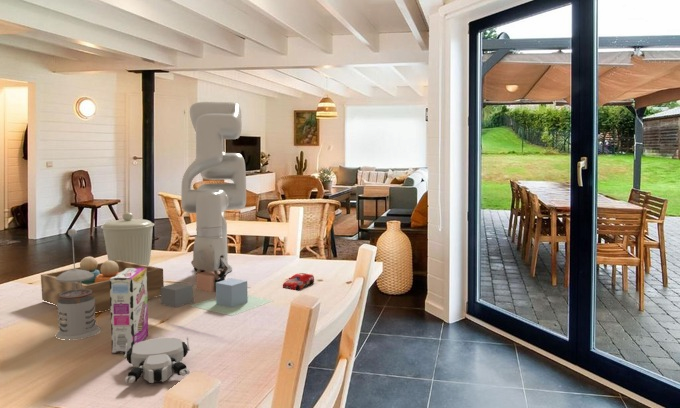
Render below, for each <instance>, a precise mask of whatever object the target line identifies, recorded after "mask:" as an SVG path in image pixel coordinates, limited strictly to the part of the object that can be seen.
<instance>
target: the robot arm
mask: <svg viewBox="0 0 680 408" xmlns="http://www.w3.org/2000/svg"><path fill="white" fill-rule="evenodd" d="M189 116H190V120H191V121H190V122H191V124H192V127H193V129H194V131H195V159H194V160H193V162H191V163H190V164H189V165H188V167H187V168H186V169H185V171H184V173H183V175H182V178H181V179H182V181H181V190H180V191H181V192H180V193H181V197H180V198H181V201H180V202H181V207H182V210H183V211H184V212H185V213H187V214H195V217H196V218H195V223H196V224H195V225H196V228H195V229H196V230H195V231H196V236H194V242H193V243H194V244H193V251H192V254H193V255H192V256H193V257H192V260H191V262H190V263H191V266H192V267H193V270H194V271H195V275H196V274H197V273H201V272H205V271H214V273H215V276H216V280H215V291H214V292H216V282H220V281H223V280H224V278H225V279H226V276H227V275H228V274H229V273H230V272H232V271H233V266H232V265H231V264H229V263H228V261H229V260H228V255H229V254H228V225H227V220H226V218H225V217H224V216H223V214H222V213H223V212H225V211H233V210H234V211H236V210H242V209H244V208H245V207H246V204H247V175H246V174H247V173H246V171H247V170H246V161H245V159H244V157H243V155H242V154H241V153H237V152H225V149H224V140H236V139H237V140H238V139H239V138H240V136H241V134H242V123H243V122H242V109H241V107H240V105H239V104H238V103H237V102H231V101H230V102H226V101H200V102H194V103H192V104H191V105H190V107H189ZM199 174H200V176H201V177H202V178H203V179H205V180H212V181H213V180H215V181H216V180H224V181H226V180H230V181H232V182H230V183H229V182H228V183H227V182H226V183H225V182H216V183H215V182H213V183H212V182H211V183H209V182H208V183H203V184H201V185H199V186H198V187H197V188H196V189H191V187H192V182H193V179H194V178H195V177H196V176H198V175H199ZM218 271H220V274H219V272H218Z"/></svg>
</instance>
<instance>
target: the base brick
mask: <svg viewBox="0 0 680 408" xmlns="http://www.w3.org/2000/svg"><path fill="white" fill-rule="evenodd" d="M248 296H249V295H248V281H247V280H245V279H238V278H226V279H225V280H223V281H220V282H216V291H215V298H216V304H218V305H222V306H227V307H231V308H232V307H235V306H238V305H241V304H244V303H247V302H248Z"/></svg>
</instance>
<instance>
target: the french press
mask: <svg viewBox="0 0 680 408" xmlns="http://www.w3.org/2000/svg"><path fill="white" fill-rule="evenodd" d="M77 234H78V231H77V229H75V228H70V229H69V230H68V231H67V235H71V240H72V241H71V242H72V258H73V259H72V261H73V262H72V263H73V268H74V269H73V268H71V269H72V270H68V269H67V270H68V271H66V272H63V273H62V274H60V275H59V276H58V277H56V280H57V281H59V282H72V283H73V289H74V290H71V291H70V290H69V291H67V292H66V291H65V292H63V293H61V294H59V297H60V298H62V299H60V300H58V301H57V306H56V308H57V316H58V317H57V318H58V320H57V321H58V331H57V333H56V334H55V335H56V337H57V338H60V339H65V340H64V341H74V340H73V339H78V340H82V339H81V338H83V339H87V338H86V337H88V338H90V336H91V337H93V335H94V336H96V335H97V334H99V333H100V332H101V330H100V329H101V328H100V327H99V326H98V325H97V320H96V318H97V317H96V314H95V312H94V311H95V297H94V296H91V294H92V292H93V291H92V290H89V289H87V290H85V289H82V282H81V281H84V280H88V279H91V278H93V277H94V274H93V273H91V272H89V271H86V270H80V269H75V268H76V266H75V265H76V263H75V247H74V246H75V244H74V235H77ZM79 281H80V282H79ZM74 282H75V283H74ZM76 282H79V283H76ZM80 283H81V290H80V289H79V290H77V289H76V284H80ZM74 285H75V286H74ZM76 298H79V303H77V304H76ZM93 307H94V308H93ZM91 311H92V312H91ZM93 312H94V313H93ZM63 320H64V321H63ZM95 334H96V335H95ZM69 339H70V340H69Z"/></svg>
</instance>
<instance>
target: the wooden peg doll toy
mask: <svg viewBox="0 0 680 408" xmlns="http://www.w3.org/2000/svg"><path fill="white" fill-rule="evenodd" d="M102 263H103V264H102V265H101V268H100V270H101V273H102V274H100V272H99V270H96V268H97V266H98V264H99V262H98V260H97V259H96V258H95V257H93V256H86V257H84V258H82V259H81V260H80V262H79V267H80V268H81V269H82V270H86V271H89V272H91V273H93V274H94V277H93V278H91V279H88V280H84V281H81V282H82V283H83V284H87V285H89V284H93V283H97V282H102V281H106V280H109V279H110V278H112V277H113V276H115V275H117V274H118V273H120V272H118V270H119V267H118V264H117V263H116V262H114V261H108V260H106V261H104V262H102ZM79 282H80V281H79Z"/></svg>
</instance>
